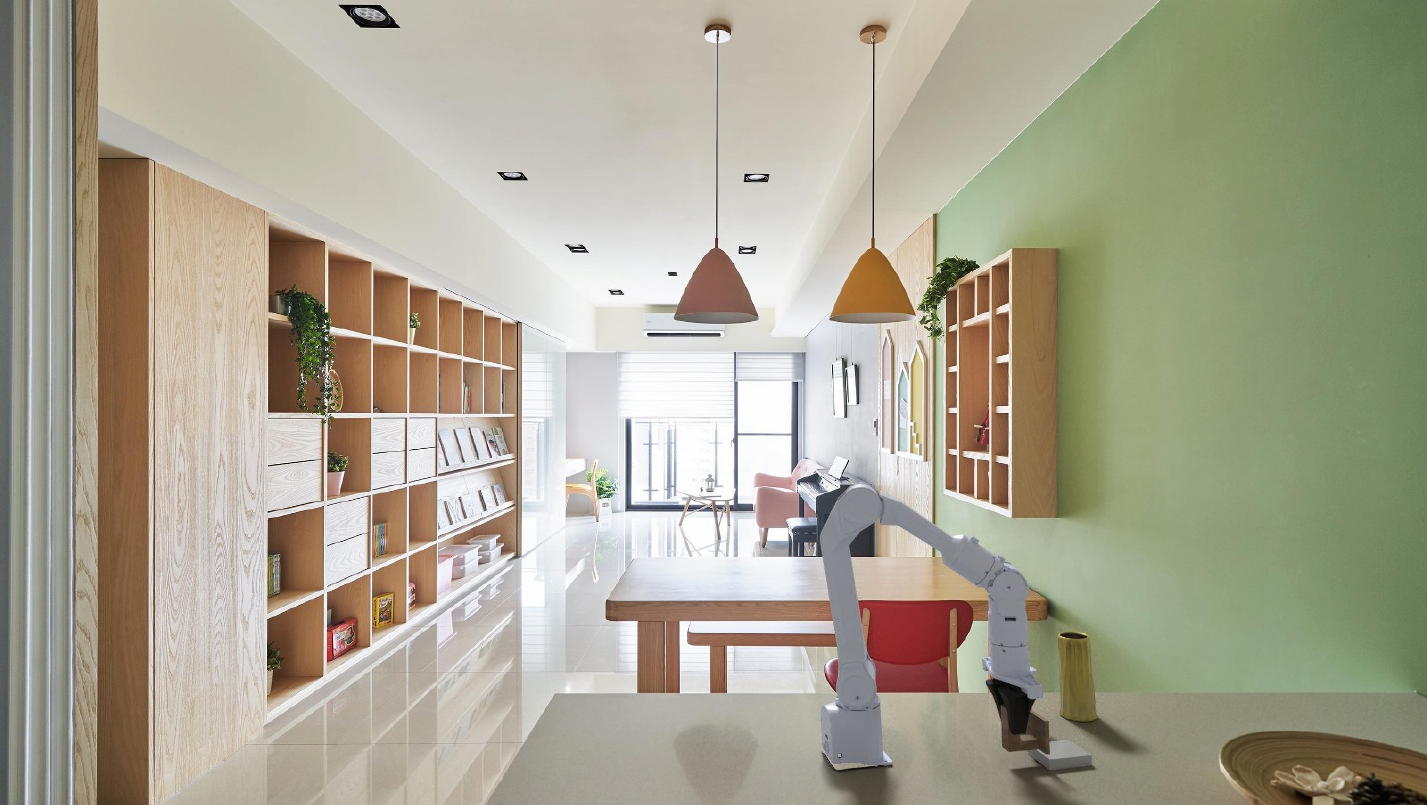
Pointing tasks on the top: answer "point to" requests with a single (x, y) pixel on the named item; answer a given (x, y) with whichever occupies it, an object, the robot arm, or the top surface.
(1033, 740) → the u-shaped wooden bracket
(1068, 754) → the tile
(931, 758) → the top surface
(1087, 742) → the top surface
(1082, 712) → the vase
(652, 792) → the top surface
